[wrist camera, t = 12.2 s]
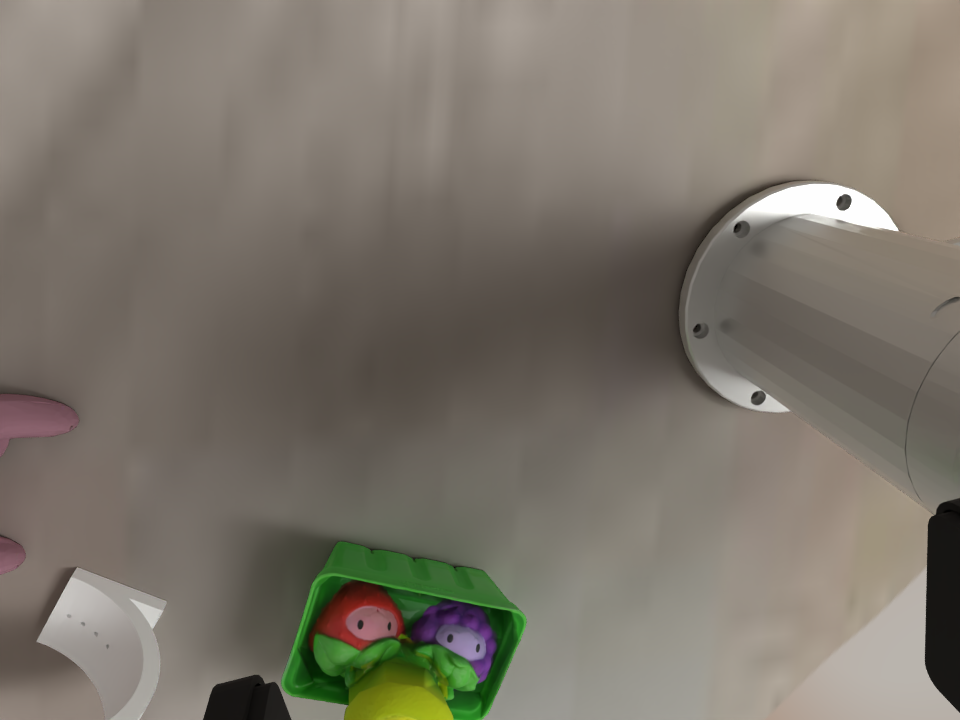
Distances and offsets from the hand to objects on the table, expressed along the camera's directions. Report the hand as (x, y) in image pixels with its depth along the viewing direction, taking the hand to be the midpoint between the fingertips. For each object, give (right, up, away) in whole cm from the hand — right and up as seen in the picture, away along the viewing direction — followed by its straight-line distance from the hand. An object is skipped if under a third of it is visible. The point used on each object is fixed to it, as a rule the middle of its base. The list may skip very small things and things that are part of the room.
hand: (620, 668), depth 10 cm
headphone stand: (-22, -10, +30) cm, 39 cm away
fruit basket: (-7, -10, +33) cm, 35 cm away
